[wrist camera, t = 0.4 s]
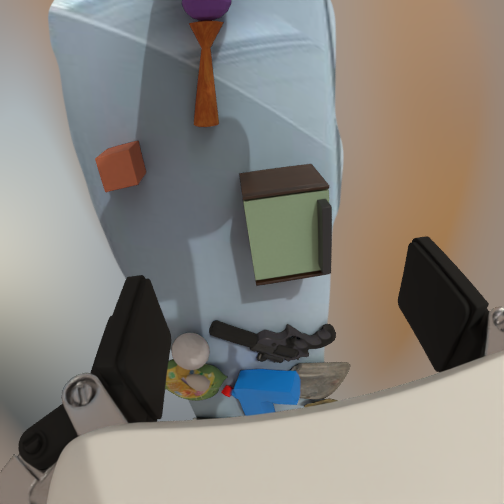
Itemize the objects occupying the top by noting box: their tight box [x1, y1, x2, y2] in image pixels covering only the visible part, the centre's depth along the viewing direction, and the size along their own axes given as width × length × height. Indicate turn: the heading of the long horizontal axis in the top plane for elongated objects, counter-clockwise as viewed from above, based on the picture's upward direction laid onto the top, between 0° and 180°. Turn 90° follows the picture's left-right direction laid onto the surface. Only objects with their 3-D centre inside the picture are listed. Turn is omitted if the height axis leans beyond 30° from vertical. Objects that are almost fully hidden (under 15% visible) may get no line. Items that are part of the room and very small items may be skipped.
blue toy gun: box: [221, 369, 300, 416], centre depth 71 cm, size 29×20×6 cm
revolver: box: [209, 320, 336, 363], centre depth 62 cm, size 3×25×15 cm
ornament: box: [304, 399, 337, 407], centre depth 78 cm, size 10×2×15 cm
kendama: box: [182, 0, 231, 127], centre depth 32 cm, size 6×6×20 cm
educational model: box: [165, 359, 227, 401], centre depth 66 cm, size 14×8×15 cm
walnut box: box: [239, 164, 329, 286], centre depth 44 cm, size 14×11×9 cm
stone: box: [290, 362, 350, 399], centre depth 71 cm, size 18×3×15 cm
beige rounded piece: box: [172, 333, 210, 392], centre depth 59 cm, size 8×10×12 cm
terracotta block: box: [95, 141, 146, 192], centre depth 39 cm, size 5×5×5 cm
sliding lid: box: [243, 189, 332, 280], centre depth 40 cm, size 12×11×3 cm
